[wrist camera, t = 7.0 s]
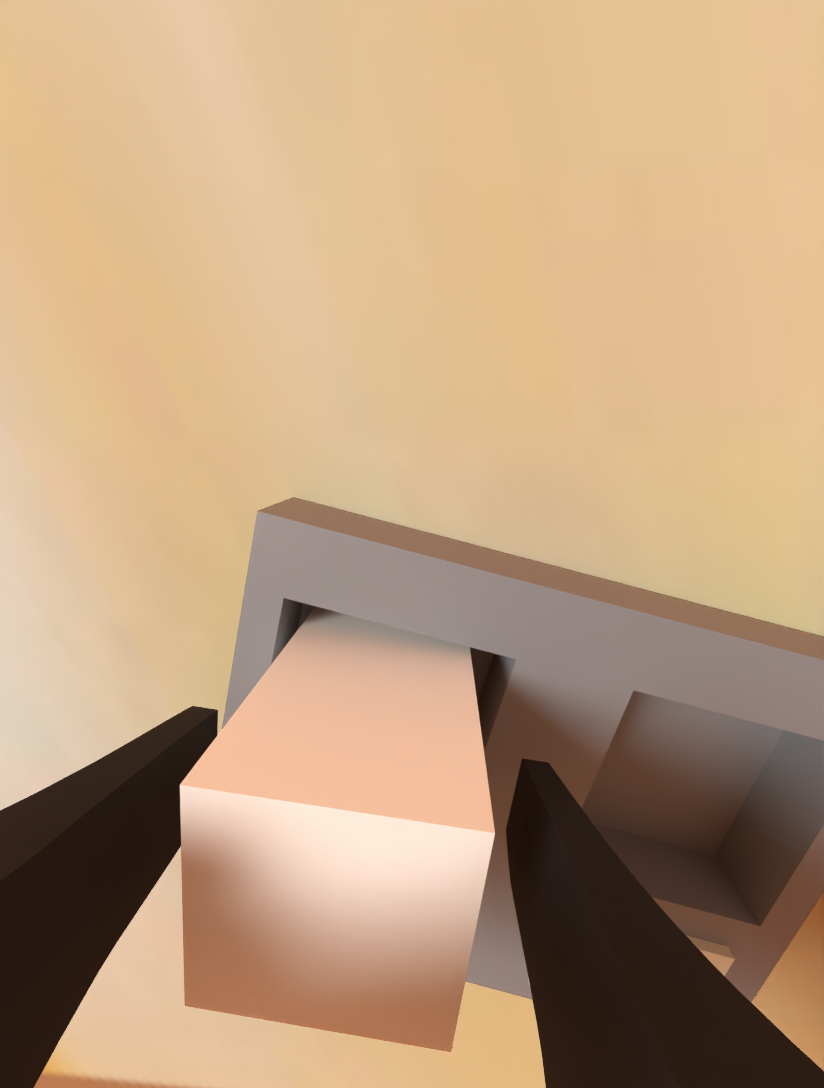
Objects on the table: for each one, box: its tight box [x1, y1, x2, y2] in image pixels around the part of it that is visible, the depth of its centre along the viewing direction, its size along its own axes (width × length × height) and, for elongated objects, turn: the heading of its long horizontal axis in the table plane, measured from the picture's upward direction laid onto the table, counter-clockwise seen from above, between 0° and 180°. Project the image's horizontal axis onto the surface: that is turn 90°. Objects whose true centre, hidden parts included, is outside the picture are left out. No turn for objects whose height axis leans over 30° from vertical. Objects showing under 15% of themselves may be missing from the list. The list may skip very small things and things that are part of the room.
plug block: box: [180, 607, 495, 1052], centre depth 10 cm, size 4×4×7 cm
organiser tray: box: [222, 498, 824, 1002], centre depth 13 cm, size 17×13×3 cm
